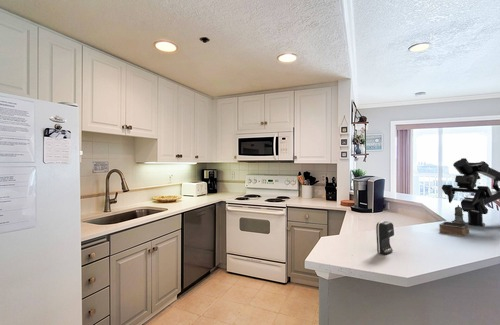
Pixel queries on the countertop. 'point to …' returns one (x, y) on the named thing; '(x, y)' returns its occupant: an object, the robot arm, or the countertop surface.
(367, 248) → the countertop surface
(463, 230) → the holder
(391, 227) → the coffee maker
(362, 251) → the countertop surface
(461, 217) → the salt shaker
